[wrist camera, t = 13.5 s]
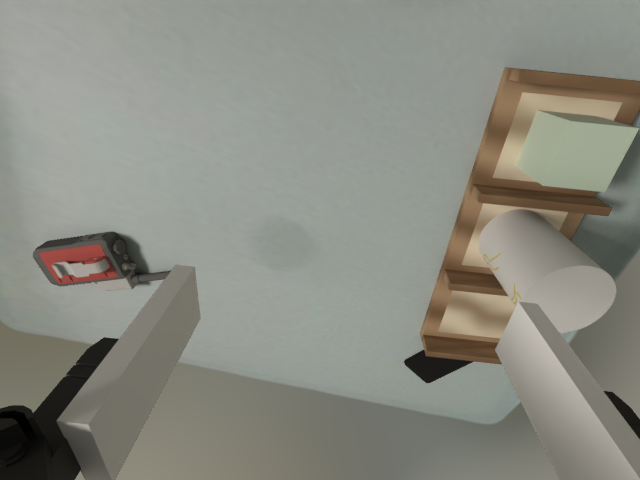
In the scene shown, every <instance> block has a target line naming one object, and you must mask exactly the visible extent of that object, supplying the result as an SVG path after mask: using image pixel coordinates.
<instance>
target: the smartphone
mask: <svg viewBox="0 0 640 480" xmlns="http://www.w3.org/2000/svg"><path fill="white" fill-rule="evenodd" d="M472 362H474V361H466V360H457V359H448V358H439V357H430V356H426V354H425V350H423V351H421V352H419V353H417V354H415V355H413V356H411V357H410V358H408V359H406V360H405V361H404V363H405V365H406V366H407V367H408V368H410V369H411V370H412V371H413V372H414V373H415V374H416V375H418V376H419V377H420V378H421V379H422V380H423V381H425V382H426V383H430V382H433V381H435V380H437V379H439V378H441V377H443V376H445V375H447V374H449V373H451V372H453V371H455V370H457V369H459V368H461V367H463V366H466V365H468V364H470V363H472Z"/></svg>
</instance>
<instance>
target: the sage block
mask: <svg viewBox="0 0 640 480" xmlns="http://www.w3.org/2000/svg"><path fill="white" fill-rule="evenodd" d="M638 130H639V128H637V127H634V126H630V125H626V124H623V123H619V122H616V121H612V120H608V119H605V118H601V117H597V116H591V115H581V114H571V113H561V112H552V111H542V110H537V112H536V114H535V117H534V119H533V122H532V125H531V127H530V130H529V132H528V135H527V138H526V140H525V143H524V146H523V148H522V151H521V153H520V156H519V159H518V161H517V164H516V166H515V167H517V168H518V169H519V170H521V171H522V172H524V173H525V174H527V175H528V176H529V177H531V178H532V179H534V180H535V181H537V182H538V183H539V184H541V185H542V186H550V187H560V188H569V189H579V190H588V191H598V192H605V191H606V190H607V188H608V186H609V184H610V182H611V180H612V178H613V177H614V175H615V173H616V171H617V169H618V167H619V165H620V164H621V162H622V160H623V158H624V156H625V154H626V152H627V151H628V149H629V147H630V145H631V143H632V141H633V139H634V138H635V136H636V134H637V132H638Z"/></svg>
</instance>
